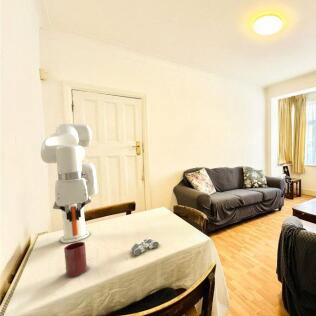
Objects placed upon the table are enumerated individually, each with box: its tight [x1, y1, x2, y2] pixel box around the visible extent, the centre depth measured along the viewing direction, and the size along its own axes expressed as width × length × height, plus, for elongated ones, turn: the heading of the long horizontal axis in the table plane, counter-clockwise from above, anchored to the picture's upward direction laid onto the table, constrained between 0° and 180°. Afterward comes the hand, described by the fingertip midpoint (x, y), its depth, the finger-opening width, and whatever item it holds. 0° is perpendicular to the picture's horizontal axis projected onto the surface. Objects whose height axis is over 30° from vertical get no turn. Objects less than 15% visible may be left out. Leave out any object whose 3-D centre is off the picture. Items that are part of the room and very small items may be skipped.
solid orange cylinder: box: [70, 206, 78, 236], centre depth 83 cm, size 2×2×12 cm
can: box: [63, 241, 88, 278], centre depth 84 cm, size 7×7×12 cm
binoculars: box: [130, 237, 160, 256], centre depth 103 cm, size 12×8×4 cm, turn 139°
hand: (74, 219), depth 83 cm, fingers closed on solid orange cylinder, 1 cm apart
